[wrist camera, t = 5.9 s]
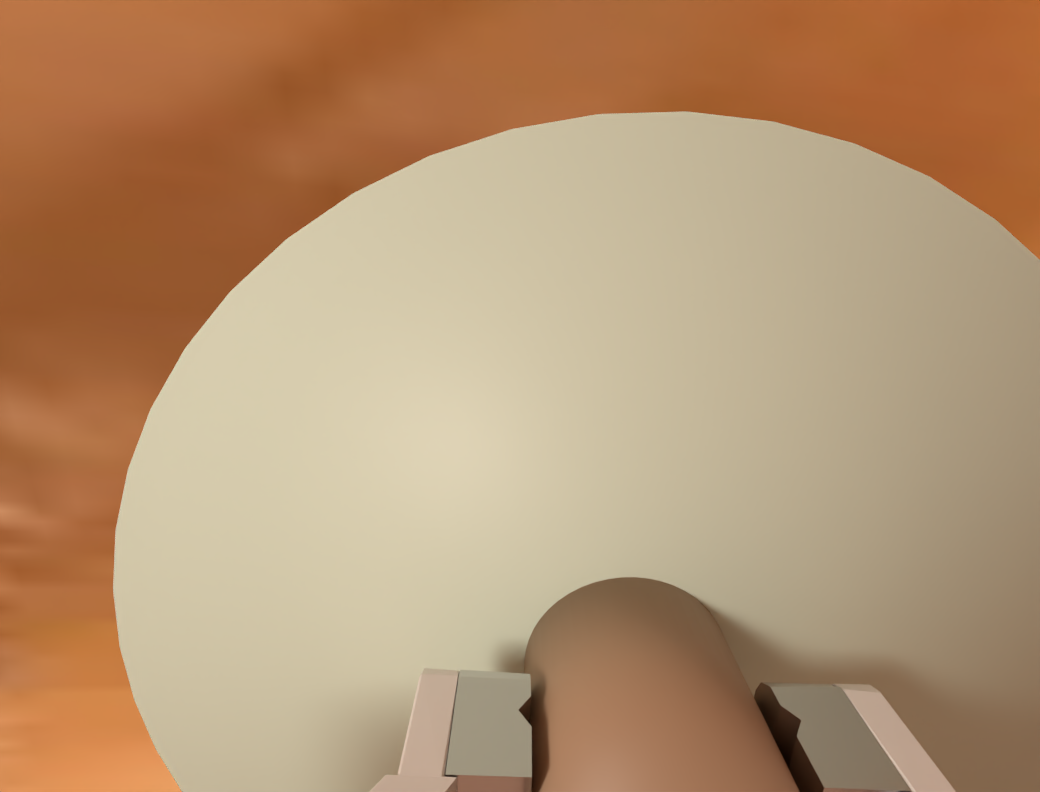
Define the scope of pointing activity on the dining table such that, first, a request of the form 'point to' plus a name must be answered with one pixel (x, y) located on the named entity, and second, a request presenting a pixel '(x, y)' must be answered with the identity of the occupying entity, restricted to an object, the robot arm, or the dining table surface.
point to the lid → (600, 467)
